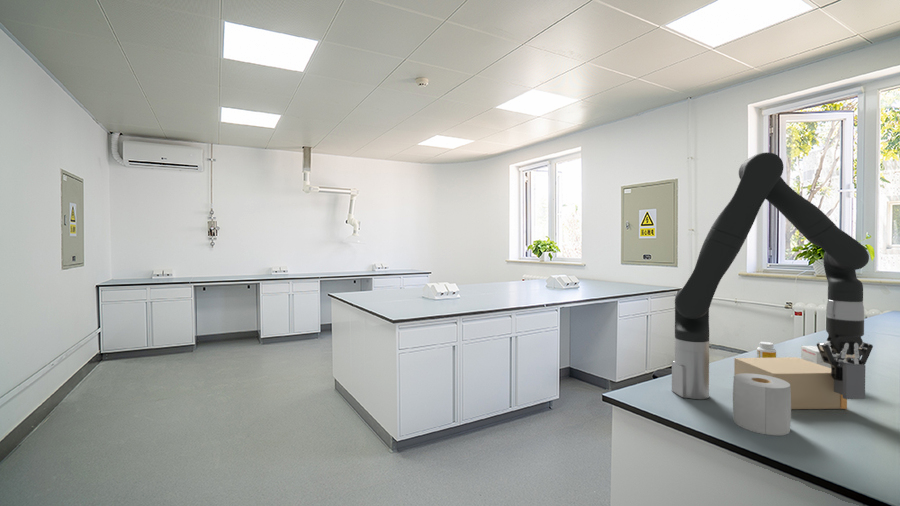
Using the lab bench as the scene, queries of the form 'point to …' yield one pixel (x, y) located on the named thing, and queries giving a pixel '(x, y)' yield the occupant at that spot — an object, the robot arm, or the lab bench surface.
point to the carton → (776, 366)
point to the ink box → (814, 355)
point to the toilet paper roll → (762, 404)
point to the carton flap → (825, 388)
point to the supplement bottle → (766, 350)
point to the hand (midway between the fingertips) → (844, 379)
